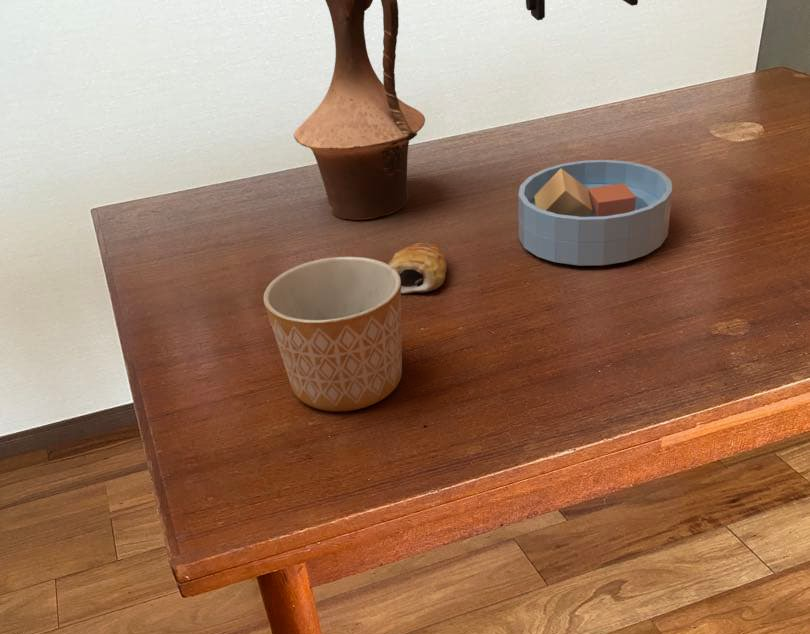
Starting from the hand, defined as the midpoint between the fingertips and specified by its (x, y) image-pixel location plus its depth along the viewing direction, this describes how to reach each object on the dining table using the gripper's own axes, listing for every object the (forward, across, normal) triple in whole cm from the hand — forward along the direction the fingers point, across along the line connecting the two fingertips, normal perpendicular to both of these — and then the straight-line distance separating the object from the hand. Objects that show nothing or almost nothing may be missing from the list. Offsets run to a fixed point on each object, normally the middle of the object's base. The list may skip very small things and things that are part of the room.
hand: (583, 10), depth 91 cm
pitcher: (+24, -23, +20) cm, 39 cm away
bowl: (+24, +2, 0) cm, 24 cm away
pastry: (+24, -20, -4) cm, 32 cm away
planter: (+24, -30, -24) cm, 46 cm away
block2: (+24, +4, 0) cm, 24 cm away
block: (+21, 0, 0) cm, 21 cm away
